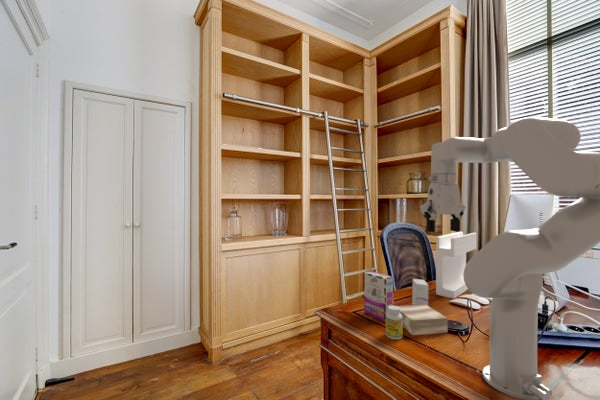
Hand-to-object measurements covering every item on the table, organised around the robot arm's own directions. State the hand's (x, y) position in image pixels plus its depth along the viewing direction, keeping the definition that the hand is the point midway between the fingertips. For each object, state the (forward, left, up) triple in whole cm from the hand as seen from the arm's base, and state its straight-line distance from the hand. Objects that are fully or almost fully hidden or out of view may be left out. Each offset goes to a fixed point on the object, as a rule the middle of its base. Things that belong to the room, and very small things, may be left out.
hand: (442, 231), depth 95 cm
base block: (+9, +2, -35) cm, 37 cm away
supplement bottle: (+3, +15, -36) cm, 39 cm away
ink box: (+23, -7, -36) cm, 43 cm away
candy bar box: (+20, +13, -36) cm, 43 cm away
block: (+47, -42, -36) cm, 72 cm away
